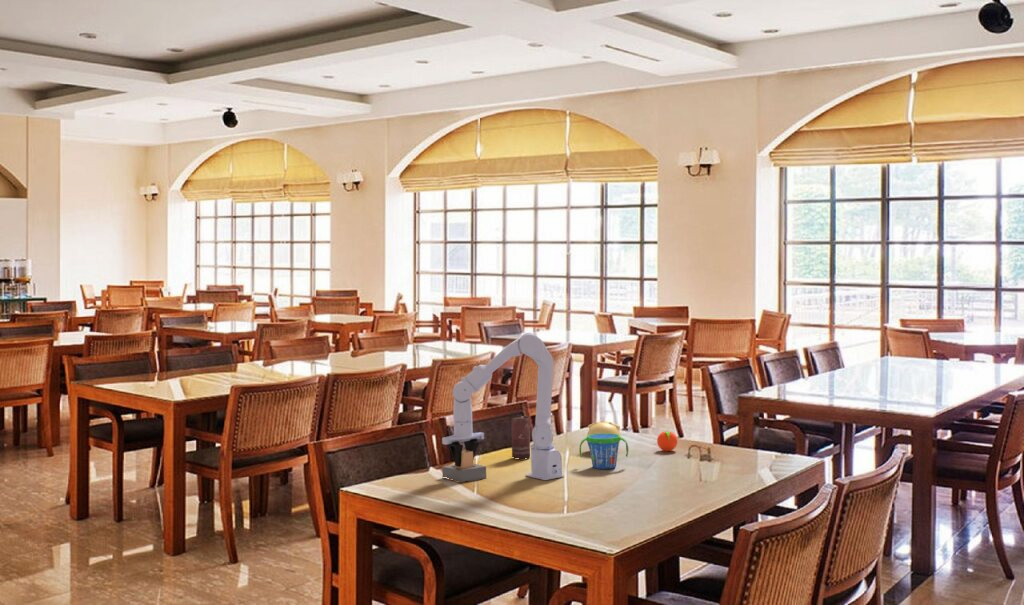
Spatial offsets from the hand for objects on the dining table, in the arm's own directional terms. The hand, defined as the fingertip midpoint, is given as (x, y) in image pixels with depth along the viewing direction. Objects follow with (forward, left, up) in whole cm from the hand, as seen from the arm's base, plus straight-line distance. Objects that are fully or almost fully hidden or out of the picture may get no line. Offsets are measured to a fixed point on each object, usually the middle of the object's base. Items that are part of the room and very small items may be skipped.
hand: (464, 465), depth 303 cm
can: (+13, -33, -4) cm, 36 cm away
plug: (0, 0, -2) cm, 2 cm away
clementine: (-13, -77, -4) cm, 78 cm away
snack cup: (-18, -42, -4) cm, 46 cm away
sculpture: (+2, -61, -4) cm, 61 cm away
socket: (0, 0, -4) cm, 4 cm away
